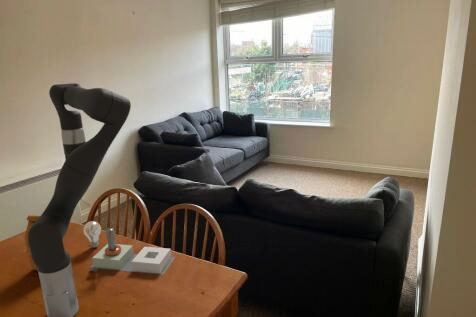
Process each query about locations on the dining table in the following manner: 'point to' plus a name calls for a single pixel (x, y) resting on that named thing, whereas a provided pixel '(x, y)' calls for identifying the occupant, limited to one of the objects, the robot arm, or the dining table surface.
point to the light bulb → (92, 232)
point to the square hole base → (134, 260)
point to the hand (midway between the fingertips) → (80, 183)
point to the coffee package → (30, 223)
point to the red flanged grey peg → (111, 243)
